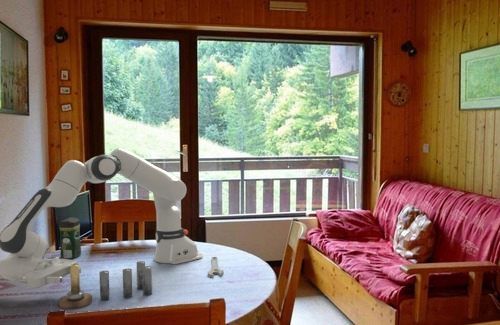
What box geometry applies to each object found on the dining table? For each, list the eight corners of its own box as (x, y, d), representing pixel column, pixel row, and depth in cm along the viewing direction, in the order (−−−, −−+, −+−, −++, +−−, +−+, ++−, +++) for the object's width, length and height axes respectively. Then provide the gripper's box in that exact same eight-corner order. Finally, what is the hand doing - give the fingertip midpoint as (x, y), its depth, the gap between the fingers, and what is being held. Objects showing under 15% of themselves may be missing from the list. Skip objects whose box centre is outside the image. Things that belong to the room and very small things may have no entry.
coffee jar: (68, 253, 213) (66, 216, 212) (83, 253, 213) (82, 216, 211) (57, 259, 204) (55, 220, 202) (73, 259, 203) (72, 220, 201)
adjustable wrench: (211, 260, 204) (211, 256, 204) (225, 260, 204) (225, 256, 204) (207, 278, 179) (207, 274, 179) (222, 278, 179) (222, 274, 179)
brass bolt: (83, 294, 157) (82, 261, 156) (85, 299, 152) (83, 266, 151) (66, 297, 155) (65, 264, 154) (67, 302, 150) (66, 268, 149)
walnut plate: (90, 294, 161) (90, 290, 161) (94, 305, 151) (94, 301, 151) (57, 300, 156) (57, 295, 156) (59, 311, 146) (59, 307, 146)
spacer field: (98, 300, 156) (97, 272, 155) (125, 284, 171) (125, 259, 171) (135, 305, 151) (134, 277, 150) (159, 288, 167) (159, 263, 166)
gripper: (14, 272, 147) (47, 276, 143) (58, 255, 167) (89, 258, 162) (15, 290, 148) (48, 295, 144) (59, 271, 167) (89, 275, 163)
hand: (70, 275), depth 153 cm, fingers open, 8 cm apart
